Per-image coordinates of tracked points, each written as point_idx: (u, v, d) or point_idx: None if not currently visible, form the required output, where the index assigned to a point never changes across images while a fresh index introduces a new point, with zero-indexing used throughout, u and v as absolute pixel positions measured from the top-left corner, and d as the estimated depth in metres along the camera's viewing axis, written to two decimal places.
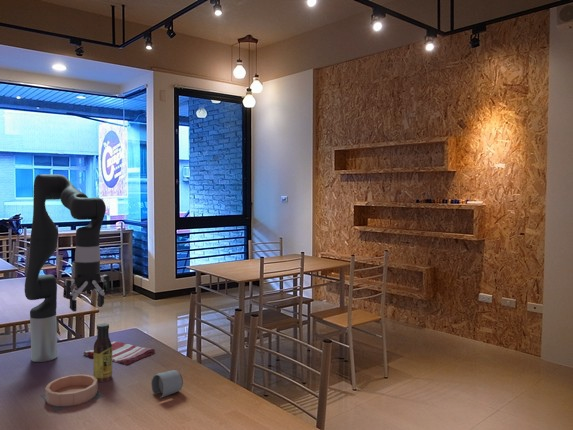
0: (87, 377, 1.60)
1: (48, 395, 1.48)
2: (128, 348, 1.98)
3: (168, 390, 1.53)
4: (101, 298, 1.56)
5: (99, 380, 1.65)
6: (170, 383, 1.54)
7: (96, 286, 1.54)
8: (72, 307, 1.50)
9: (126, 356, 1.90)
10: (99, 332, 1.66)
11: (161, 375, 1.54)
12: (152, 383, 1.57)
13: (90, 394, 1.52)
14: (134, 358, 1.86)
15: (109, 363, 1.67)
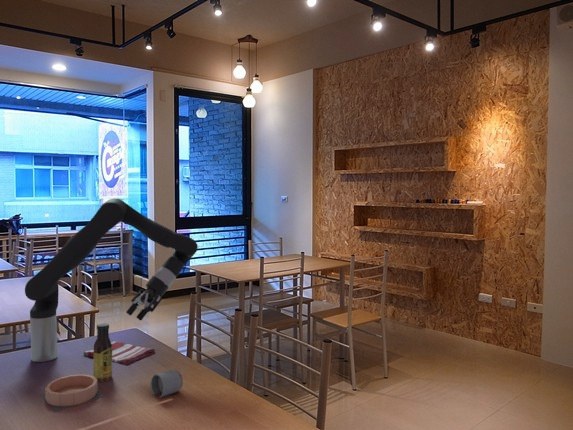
0: (87, 377, 1.60)
1: (48, 395, 1.48)
2: (128, 348, 1.98)
3: (167, 389, 1.54)
4: None
5: (99, 380, 1.65)
6: (170, 383, 1.54)
7: None
8: None
9: (126, 356, 1.90)
10: (99, 332, 1.66)
11: (161, 375, 1.55)
12: (152, 383, 1.57)
13: (90, 394, 1.52)
14: (134, 358, 1.86)
15: (109, 363, 1.67)
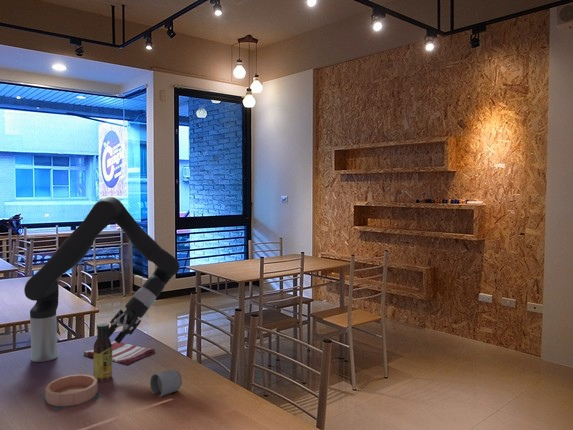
0: (87, 377, 1.60)
1: (48, 395, 1.48)
2: (128, 348, 1.98)
3: (166, 389, 1.54)
4: None
5: (99, 380, 1.65)
6: (169, 382, 1.55)
7: None
8: None
9: (126, 356, 1.90)
10: (99, 332, 1.66)
11: (160, 374, 1.55)
12: (151, 382, 1.58)
13: (90, 394, 1.52)
14: (134, 358, 1.86)
15: (109, 363, 1.67)
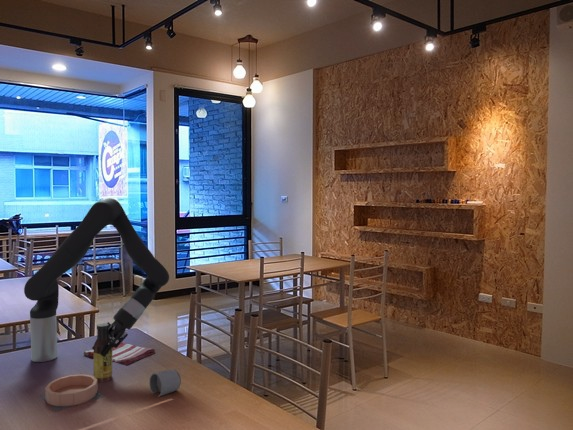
0: (87, 377, 1.60)
1: (48, 395, 1.48)
2: (128, 348, 1.98)
3: (165, 389, 1.54)
4: None
5: (99, 380, 1.65)
6: (168, 382, 1.55)
7: None
8: None
9: (126, 356, 1.90)
10: (99, 332, 1.66)
11: (159, 374, 1.55)
12: (150, 382, 1.58)
13: (90, 394, 1.52)
14: (134, 358, 1.86)
15: (109, 363, 1.67)
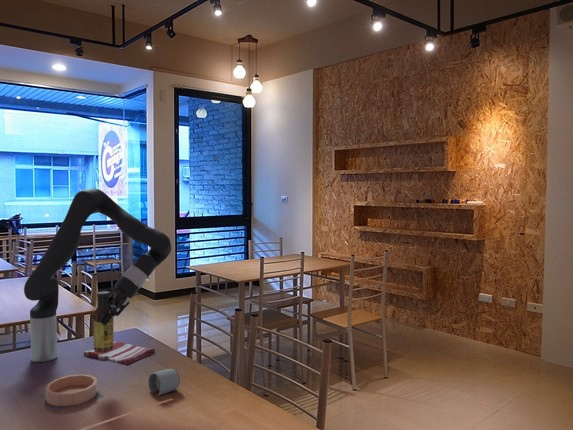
0: (87, 377, 1.60)
1: (48, 395, 1.48)
2: (128, 348, 1.98)
3: (164, 388, 1.55)
4: None
5: (100, 350, 1.58)
6: (167, 381, 1.55)
7: None
8: None
9: (126, 356, 1.90)
10: (99, 300, 1.58)
11: (158, 373, 1.56)
12: (149, 381, 1.59)
13: (90, 394, 1.52)
14: (134, 358, 1.86)
15: (110, 333, 1.59)
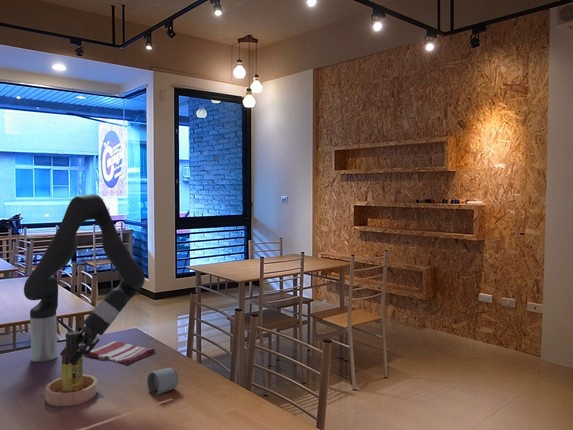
0: (87, 377, 1.60)
1: (48, 395, 1.48)
2: (128, 348, 1.98)
3: (163, 387, 1.55)
4: None
5: None
6: (165, 380, 1.56)
7: None
8: None
9: (126, 356, 1.90)
10: (68, 341, 1.52)
11: (156, 373, 1.56)
12: (148, 380, 1.59)
13: (90, 394, 1.52)
14: (134, 358, 1.86)
15: (79, 375, 1.53)
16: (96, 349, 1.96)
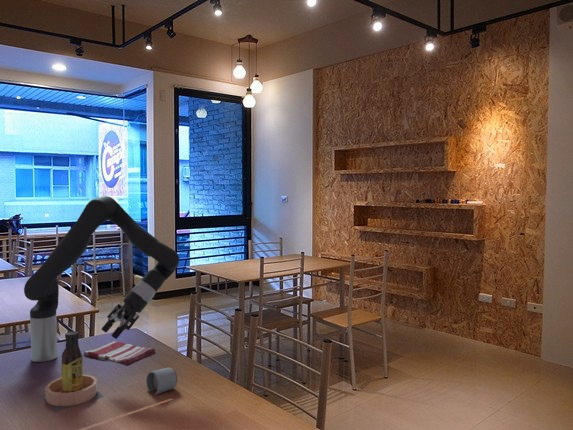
0: (87, 377, 1.60)
1: (48, 395, 1.48)
2: (128, 348, 1.98)
3: (162, 387, 1.56)
4: None
5: None
6: (165, 380, 1.56)
7: None
8: None
9: (126, 356, 1.90)
10: (67, 341, 1.52)
11: (156, 372, 1.57)
12: (147, 380, 1.60)
13: (90, 394, 1.52)
14: (135, 358, 1.86)
15: (79, 375, 1.53)
16: (96, 349, 1.96)
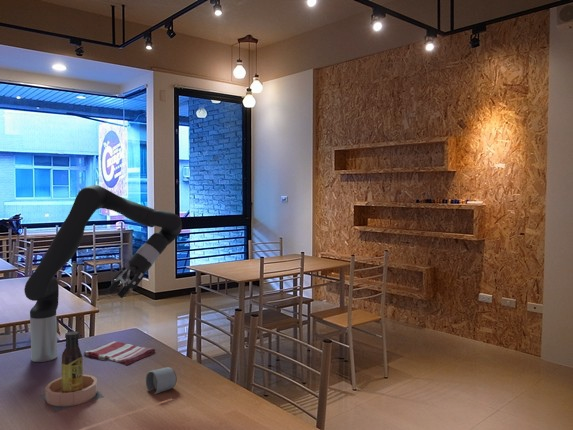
0: (87, 377, 1.60)
1: (48, 395, 1.48)
2: (128, 348, 1.98)
3: (161, 386, 1.56)
4: None
5: None
6: (164, 380, 1.57)
7: None
8: None
9: (126, 356, 1.90)
10: (67, 341, 1.52)
11: (155, 372, 1.57)
12: (146, 380, 1.60)
13: (90, 394, 1.52)
14: (135, 358, 1.86)
15: (79, 375, 1.53)
16: (96, 349, 1.96)
